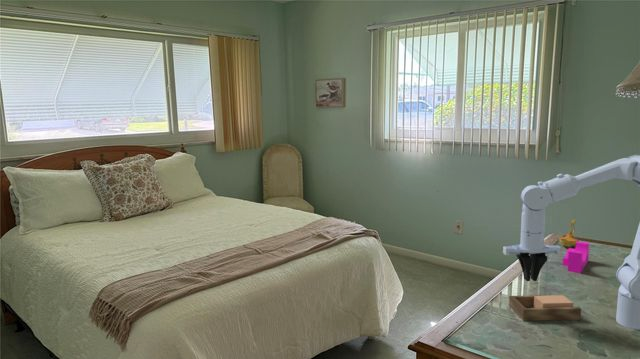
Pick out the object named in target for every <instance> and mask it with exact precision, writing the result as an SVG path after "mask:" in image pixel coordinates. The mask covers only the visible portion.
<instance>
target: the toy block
mask: <svg viewBox="0 0 640 359" xmlns="http://www.w3.org/2000/svg"><path fill="white" fill-rule="evenodd" d="M574 247H575V248H567V250H566V253H565V256H564V257H563V258H562V266H566V267H567V271H568V272H572V273H575V274H581V273H582V271H583V270H584V268H585V267H586V265H587V264H588V262H589V253H590V242H585V241H580V240H579V241H577V242H576V246H574Z"/></svg>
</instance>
